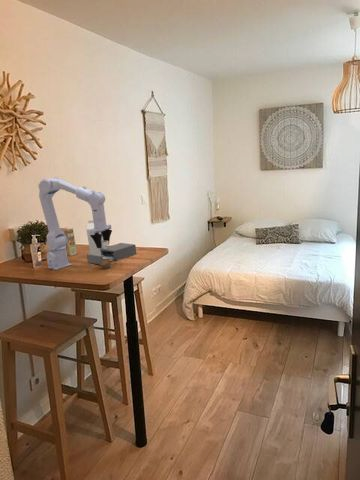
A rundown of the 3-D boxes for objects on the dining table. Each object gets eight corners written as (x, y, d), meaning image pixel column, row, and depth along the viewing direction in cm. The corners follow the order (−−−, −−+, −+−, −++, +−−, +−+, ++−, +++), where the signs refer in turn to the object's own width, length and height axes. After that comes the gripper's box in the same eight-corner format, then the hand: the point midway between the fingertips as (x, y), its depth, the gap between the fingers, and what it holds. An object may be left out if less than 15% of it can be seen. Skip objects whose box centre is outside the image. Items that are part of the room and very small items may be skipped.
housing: (115, 260, 194) (114, 250, 193) (101, 258, 202) (100, 248, 201) (136, 254, 204) (135, 244, 203) (122, 251, 212) (120, 242, 211)
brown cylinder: (106, 269, 180) (104, 261, 179) (101, 268, 183) (99, 260, 182) (112, 267, 183) (111, 259, 182) (107, 266, 185) (106, 258, 185)
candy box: (77, 254, 217) (73, 227, 214) (70, 256, 214) (66, 229, 211) (70, 252, 223) (65, 226, 220) (63, 254, 220) (59, 228, 217)
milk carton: (102, 255, 207) (97, 221, 203) (90, 256, 209) (85, 222, 205) (107, 252, 214) (102, 219, 210) (95, 253, 216) (90, 219, 212)
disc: (104, 246, 180) (103, 243, 179) (94, 246, 182) (94, 243, 182) (111, 243, 185) (110, 240, 184) (101, 243, 187) (101, 240, 187)
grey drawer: (101, 264, 188) (100, 256, 187) (87, 262, 196) (86, 254, 195) (124, 257, 198) (123, 249, 197) (109, 255, 206) (108, 247, 205)
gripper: (96, 221, 173) (100, 250, 176) (115, 215, 185) (118, 243, 188) (84, 221, 176) (88, 250, 179) (103, 216, 188) (106, 242, 191)
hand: (103, 246), depth 184 cm, fingers closed on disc, 6 cm apart
